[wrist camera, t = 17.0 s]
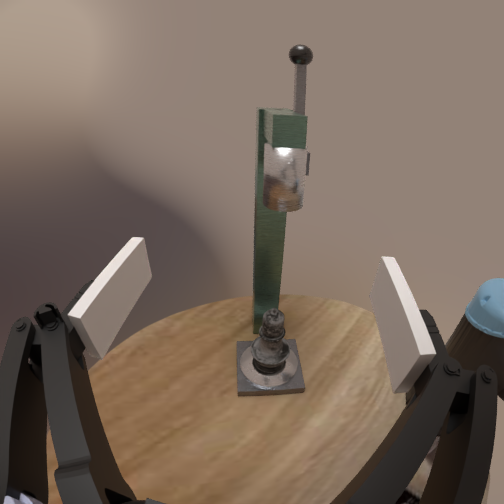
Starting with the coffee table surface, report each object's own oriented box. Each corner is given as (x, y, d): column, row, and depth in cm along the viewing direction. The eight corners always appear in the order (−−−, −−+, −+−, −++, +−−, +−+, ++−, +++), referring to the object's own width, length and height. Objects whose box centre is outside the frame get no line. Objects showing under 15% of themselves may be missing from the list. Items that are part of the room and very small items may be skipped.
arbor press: (288, 316, 53) (311, 48, 29) (303, 392, 39) (364, 22, 14) (236, 318, 53) (234, 44, 28) (238, 396, 38) (232, 6, 14)
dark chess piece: (244, 355, 43) (243, 300, 36) (276, 343, 45) (282, 288, 39) (260, 383, 38) (264, 330, 32) (294, 368, 40) (306, 314, 34)
